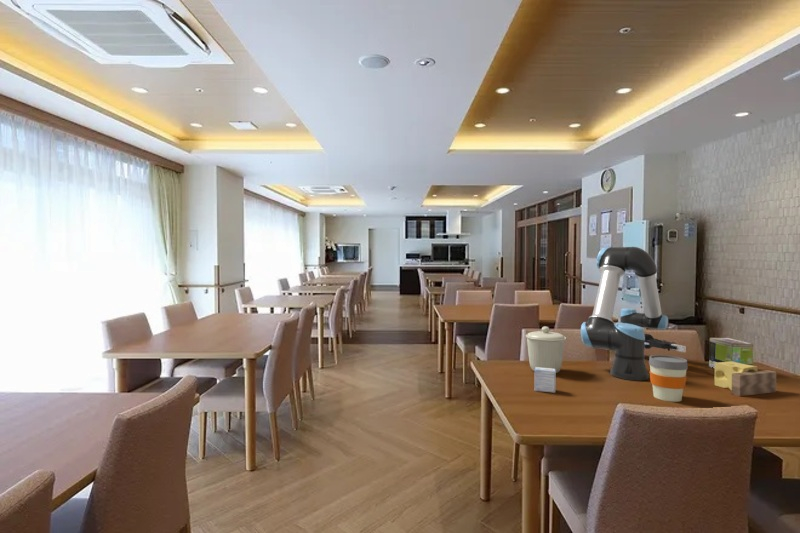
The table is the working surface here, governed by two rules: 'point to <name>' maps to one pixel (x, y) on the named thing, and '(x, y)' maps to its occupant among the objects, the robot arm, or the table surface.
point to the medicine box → (545, 379)
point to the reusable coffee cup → (668, 377)
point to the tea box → (730, 351)
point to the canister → (545, 349)
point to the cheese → (729, 372)
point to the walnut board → (753, 383)
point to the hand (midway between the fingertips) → (684, 349)
